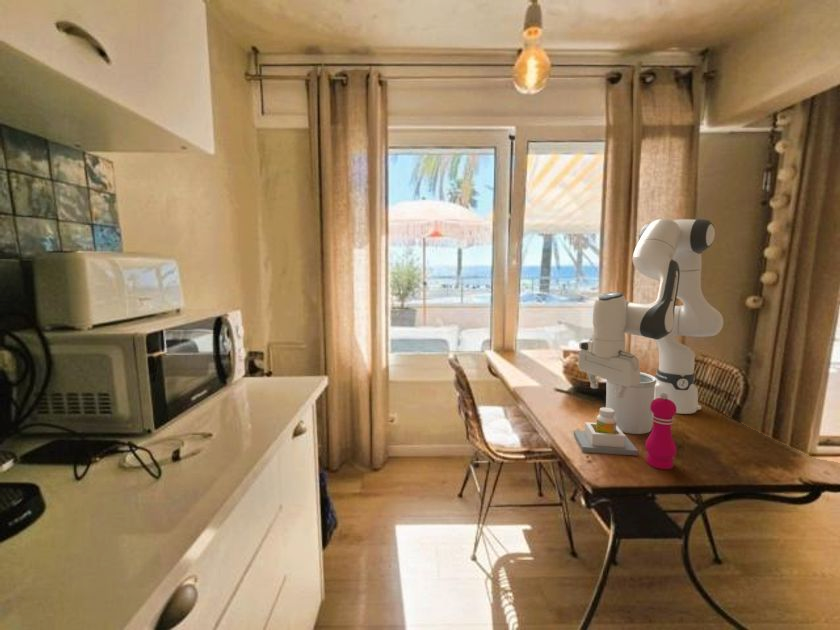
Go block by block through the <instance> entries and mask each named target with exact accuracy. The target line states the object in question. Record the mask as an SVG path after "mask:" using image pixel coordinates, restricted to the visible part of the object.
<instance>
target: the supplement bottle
mask: <svg viewBox="0 0 840 630" xmlns="http://www.w3.org/2000/svg"><path fill="white" fill-rule="evenodd" d="M596 423H597V424H596V433H612V434H616V418H615V417H614V410H613V409H611V408H606V406H605V407H604V406H603V407H600V408H599V414H598V415H597V416H596Z"/></svg>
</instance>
